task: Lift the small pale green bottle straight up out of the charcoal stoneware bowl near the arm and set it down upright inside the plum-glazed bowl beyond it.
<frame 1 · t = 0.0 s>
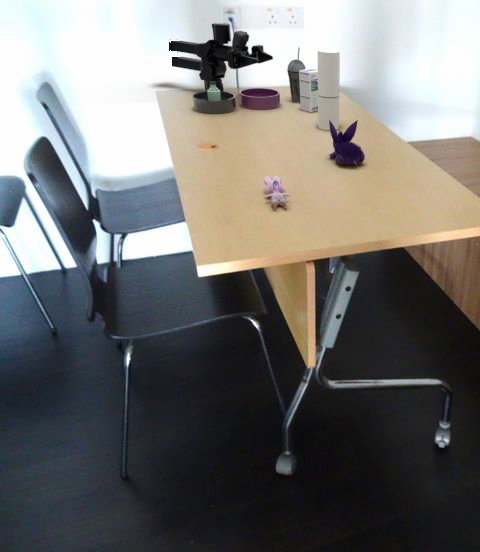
hand: (265, 59, 208), 17 cm above the table, tool horizontal, fingers open, 9 cm apart
syrup box: (310, 110, 215), on the table
beverage cup: (297, 101, 224), on the table
charcoal bowl: (215, 110, 206), on the table
bottle: (215, 108, 206), point 1 cm above the table, touching charcoal bowl
plum bowl: (260, 106, 214), on the table
cylindrical container: (328, 127, 196), on the table
rabbit figure: (275, 198, 141), on the table
creature: (344, 161, 168), on the table
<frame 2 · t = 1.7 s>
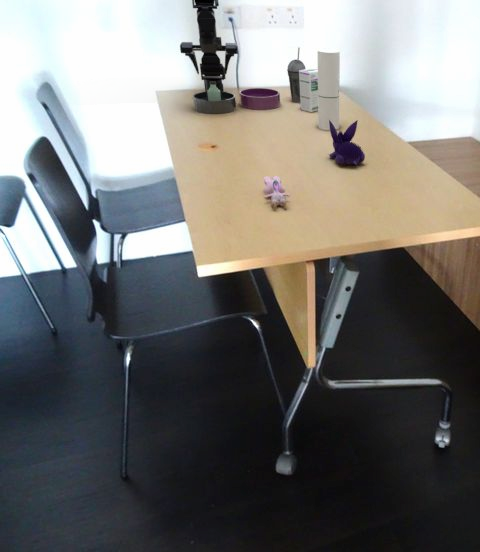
hand: (212, 74, 200), 13 cm above the table, tool pointing down, fingers open, 9 cm apart
nothing on the table moved.
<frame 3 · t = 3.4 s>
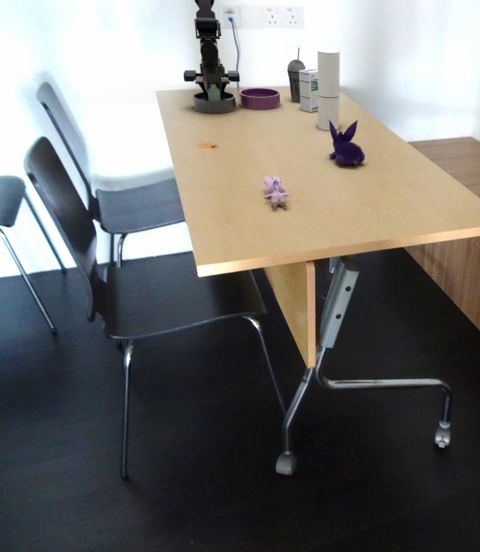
hand: (214, 100, 204), 3 cm above the table, tool pointing down, fingers closed on bottle, 4 cm apart
bottle: (215, 108, 206), point 1 cm above the table, touching charcoal bowl, gripper
everything else where it was.
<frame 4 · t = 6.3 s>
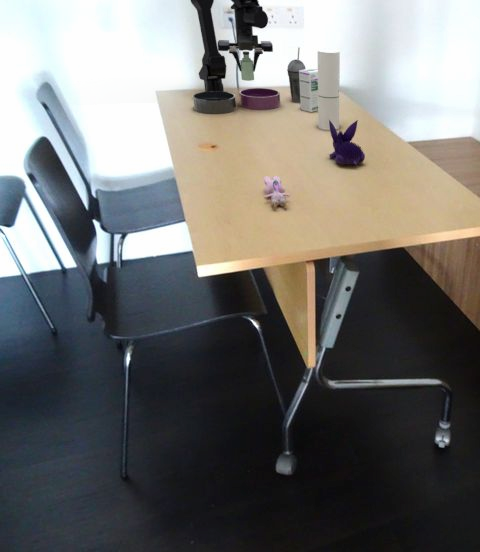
hand: (247, 71, 205), 13 cm above the table, tool pointing down, fingers closed on bottle, 4 cm apart
bottle: (247, 79, 207), point 10 cm above the table, touching gripper
everything else where it was.
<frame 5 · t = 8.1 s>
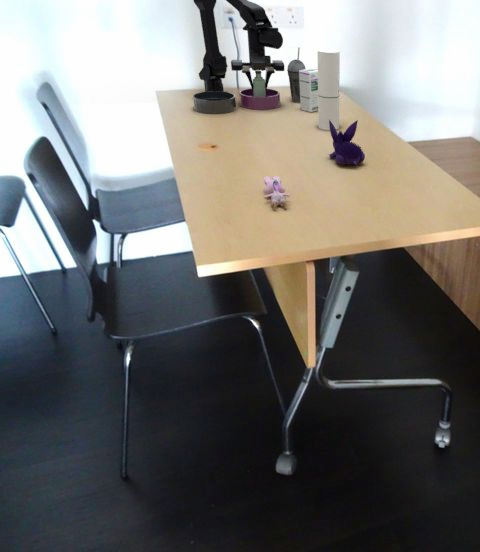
hand: (259, 89, 211), 6 cm above the table, tool pointing down, fingers closed on bottle, 4 cm apart
bottle: (259, 97, 212), point 3 cm above the table, touching gripper
everything else where it was.
when the fingers open (3 cm above the table, at t = 9.2 s): bottle stays where it is, resting on plum bowl.
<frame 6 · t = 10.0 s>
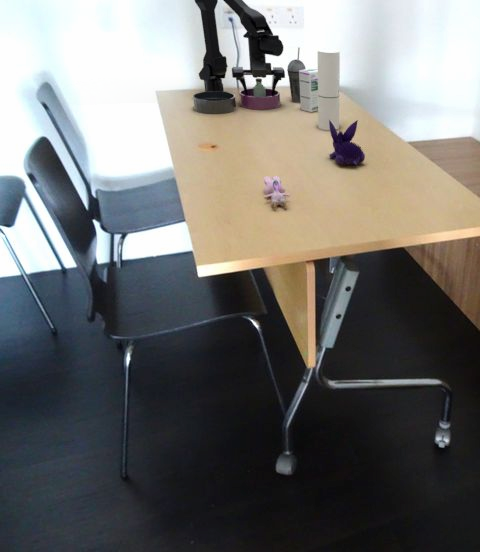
hand: (259, 96, 212), 4 cm above the table, tool pointing down, fingers open, 9 cm apart
bottle: (260, 105, 214), point 1 cm above the table, touching plum bowl
everything else where it was.
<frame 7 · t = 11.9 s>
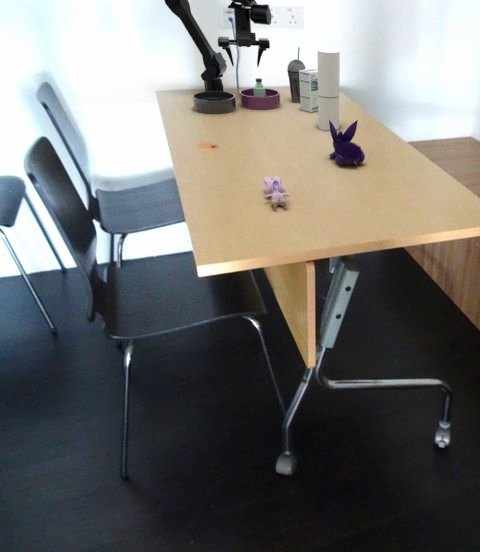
hand: (245, 66, 218), 12 cm above the table, tool pointing down, fingers open, 9 cm apart
nothing on the table moved.
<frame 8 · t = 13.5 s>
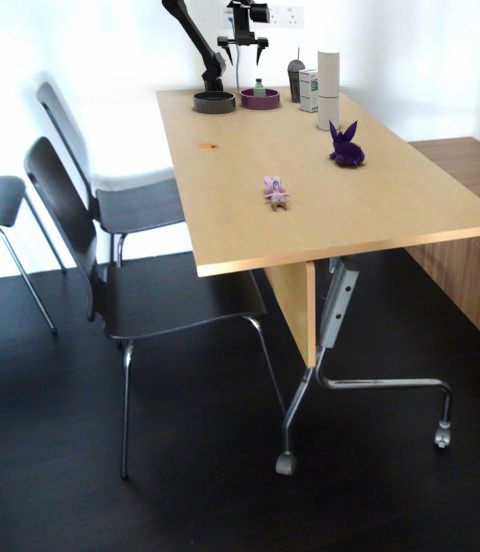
hand: (244, 65, 219), 12 cm above the table, tool pointing down, fingers open, 9 cm apart
nothing on the table moved.
at the end: bottle inside the target area in the plum bowl (0.0 cm from its centre), point 0.6 cm above the plum bowl's base; bottle tilted 0°; the gripper is holding nothing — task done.
